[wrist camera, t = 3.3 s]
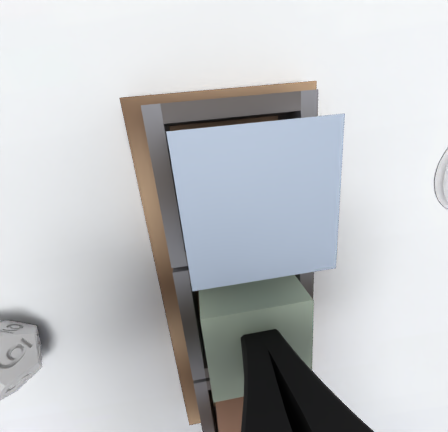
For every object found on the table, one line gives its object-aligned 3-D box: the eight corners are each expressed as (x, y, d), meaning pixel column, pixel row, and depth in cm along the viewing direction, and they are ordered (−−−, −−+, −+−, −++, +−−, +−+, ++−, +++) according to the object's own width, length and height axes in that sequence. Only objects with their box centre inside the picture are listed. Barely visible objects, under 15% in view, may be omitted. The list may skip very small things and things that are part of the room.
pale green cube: (281, 320, 13) (311, 382, 10) (207, 334, 13) (213, 402, 10) (279, 254, 12) (313, 300, 9) (197, 267, 12) (200, 319, 8)
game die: (61, 315, 14) (27, 362, 11) (49, 366, 14) (15, 422, 12) (-12, 301, 13) (-70, 348, 10) (-20, 356, 14) (-75, 413, 11)
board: (301, 382, 18) (327, 439, 14) (189, 405, 17) (189, 471, 13) (303, 86, 11) (350, 66, 8) (126, 101, 11) (98, 86, 7)
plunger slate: (288, 224, 10) (335, 268, 7) (191, 238, 10) (192, 291, 6) (286, 121, 9) (344, 113, 6) (175, 133, 8) (166, 131, 5)
